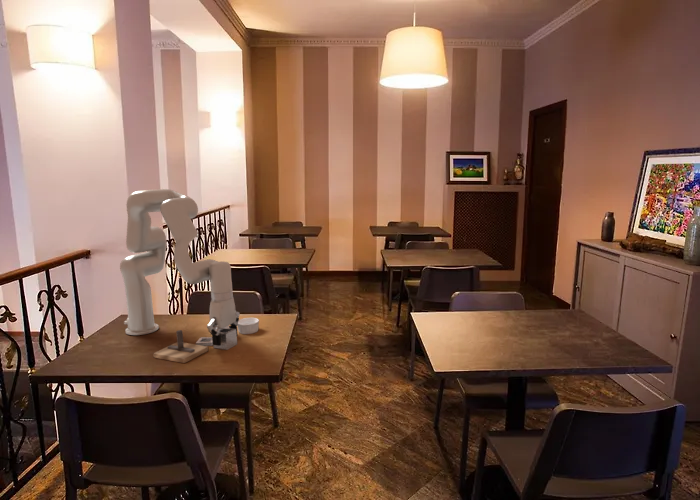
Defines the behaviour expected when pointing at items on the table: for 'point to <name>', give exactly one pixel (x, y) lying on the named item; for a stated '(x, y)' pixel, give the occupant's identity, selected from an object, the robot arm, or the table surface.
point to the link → (227, 338)
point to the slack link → (200, 342)
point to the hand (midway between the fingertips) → (225, 340)
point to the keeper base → (181, 354)
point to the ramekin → (248, 325)
